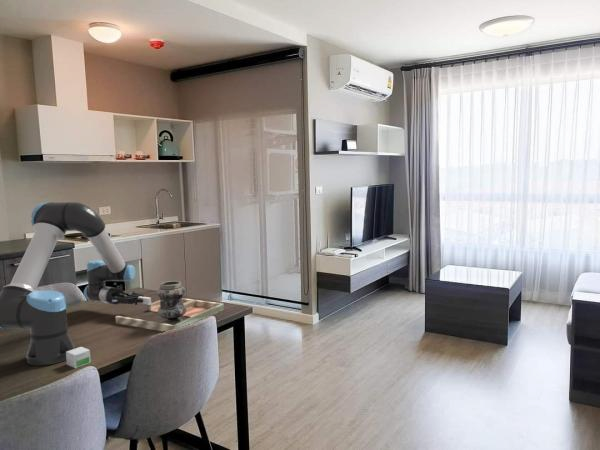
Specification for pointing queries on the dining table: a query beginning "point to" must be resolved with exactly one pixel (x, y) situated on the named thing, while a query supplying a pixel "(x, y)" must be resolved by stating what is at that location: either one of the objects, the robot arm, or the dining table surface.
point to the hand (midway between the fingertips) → (149, 301)
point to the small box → (78, 357)
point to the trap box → (194, 311)
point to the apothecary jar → (171, 302)
